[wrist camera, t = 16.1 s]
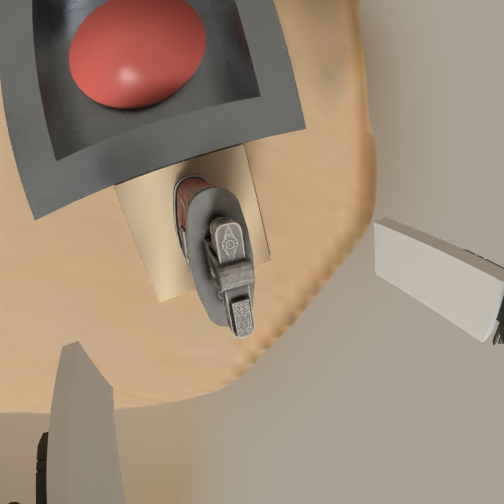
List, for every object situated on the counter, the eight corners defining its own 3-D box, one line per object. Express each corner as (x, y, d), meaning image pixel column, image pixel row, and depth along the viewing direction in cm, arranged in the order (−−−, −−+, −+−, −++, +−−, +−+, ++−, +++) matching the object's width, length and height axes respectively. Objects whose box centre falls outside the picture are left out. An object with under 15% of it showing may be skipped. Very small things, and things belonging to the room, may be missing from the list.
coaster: (159, 300, 23) (160, 302, 23) (114, 185, 19) (113, 186, 18) (268, 258, 25) (270, 260, 25) (242, 144, 21) (243, 144, 21)
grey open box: (59, 202, 17) (35, 220, 13) (24, 15, 10) (1, -11, 5) (269, 131, 21) (306, 128, 17) (223, -40, 14) (245, -73, 9)
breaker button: (85, 129, 15) (82, 128, 14) (66, 20, 11) (63, 15, 10) (215, 88, 17) (219, 85, 16) (189, -14, 13) (191, -20, 12)
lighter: (165, 179, 20) (183, 206, 11) (210, 170, 20) (264, 189, 12) (186, 279, 23) (218, 361, 14) (226, 268, 24) (278, 341, 15)
